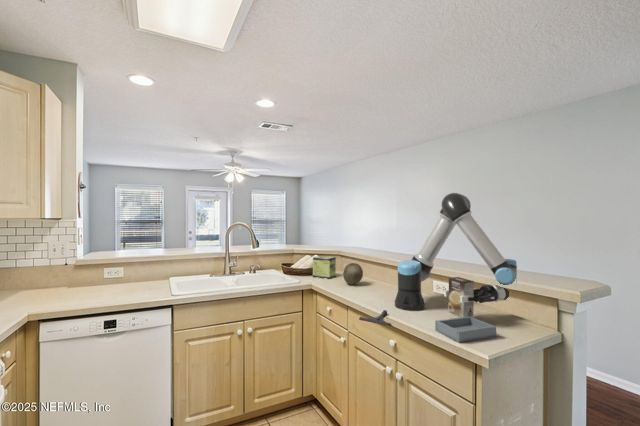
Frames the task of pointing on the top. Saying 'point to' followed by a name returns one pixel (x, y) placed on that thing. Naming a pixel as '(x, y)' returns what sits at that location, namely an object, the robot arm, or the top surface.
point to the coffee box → (457, 290)
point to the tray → (465, 329)
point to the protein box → (324, 267)
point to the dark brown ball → (353, 273)
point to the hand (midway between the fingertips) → (452, 296)
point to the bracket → (377, 319)
